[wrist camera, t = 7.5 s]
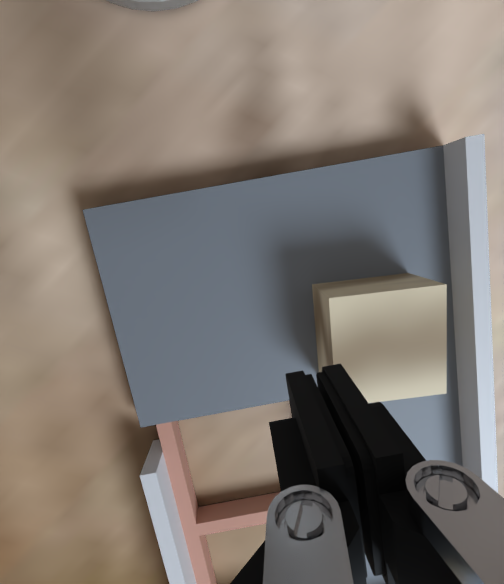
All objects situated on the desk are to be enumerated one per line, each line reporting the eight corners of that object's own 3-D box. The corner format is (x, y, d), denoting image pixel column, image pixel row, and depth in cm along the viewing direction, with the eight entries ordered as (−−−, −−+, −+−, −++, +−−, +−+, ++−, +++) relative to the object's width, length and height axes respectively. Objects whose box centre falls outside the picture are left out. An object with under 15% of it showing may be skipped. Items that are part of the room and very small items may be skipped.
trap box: (93, 210, 21) (62, 208, 18) (446, 147, 22) (491, 131, 18) (199, 617, 28) (193, 680, 24) (471, 566, 28) (508, 620, 24)
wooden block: (312, 284, 21) (328, 298, 18) (408, 272, 22) (446, 284, 18) (318, 375, 23) (336, 407, 19) (410, 364, 23) (446, 393, 19)
